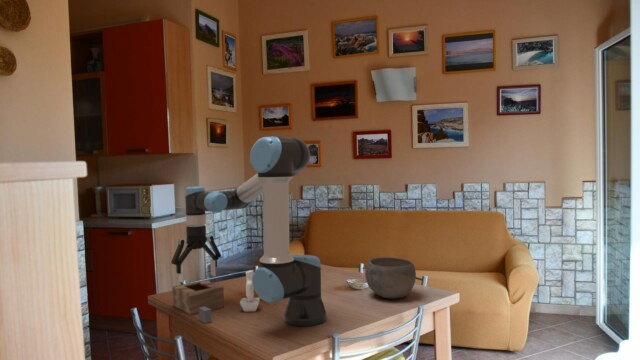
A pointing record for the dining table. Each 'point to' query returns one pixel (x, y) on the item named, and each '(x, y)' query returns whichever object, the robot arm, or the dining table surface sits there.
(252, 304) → the figurine
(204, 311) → the stand
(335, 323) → the dining table surface
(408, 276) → the bowl
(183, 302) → the brown wooden box
